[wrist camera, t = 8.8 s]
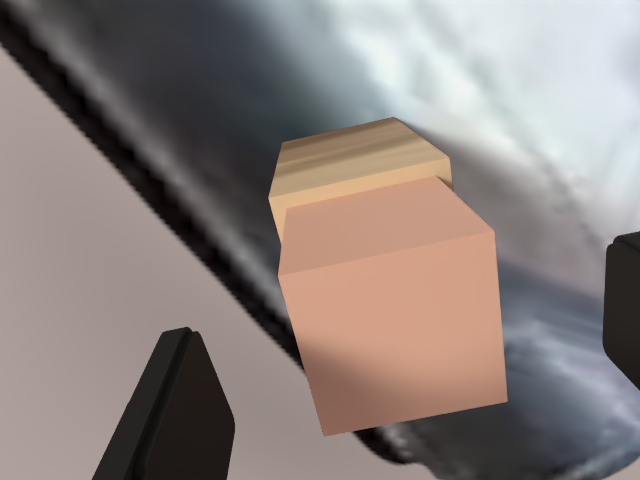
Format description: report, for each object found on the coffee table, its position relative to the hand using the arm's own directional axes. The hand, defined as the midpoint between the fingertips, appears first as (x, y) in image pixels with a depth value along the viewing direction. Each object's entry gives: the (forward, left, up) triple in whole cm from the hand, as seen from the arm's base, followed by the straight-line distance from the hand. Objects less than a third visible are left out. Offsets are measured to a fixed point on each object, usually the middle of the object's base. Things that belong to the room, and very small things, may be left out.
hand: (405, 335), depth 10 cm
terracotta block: (+1, 0, -6) cm, 6 cm away
